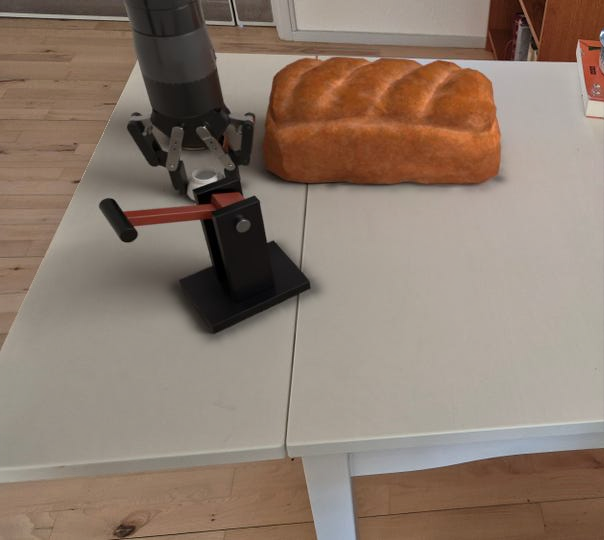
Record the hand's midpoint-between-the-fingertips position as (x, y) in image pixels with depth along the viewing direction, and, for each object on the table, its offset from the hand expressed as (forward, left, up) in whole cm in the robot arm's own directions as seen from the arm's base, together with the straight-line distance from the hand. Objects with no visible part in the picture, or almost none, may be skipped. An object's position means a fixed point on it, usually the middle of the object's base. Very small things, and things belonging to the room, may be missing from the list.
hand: (209, 189), depth 83 cm
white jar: (0, 0, -1) cm, 1 cm away
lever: (+2, -19, +11) cm, 22 cm away
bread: (+22, +8, -1) cm, 23 cm away
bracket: (+6, -17, 0) cm, 18 cm away
